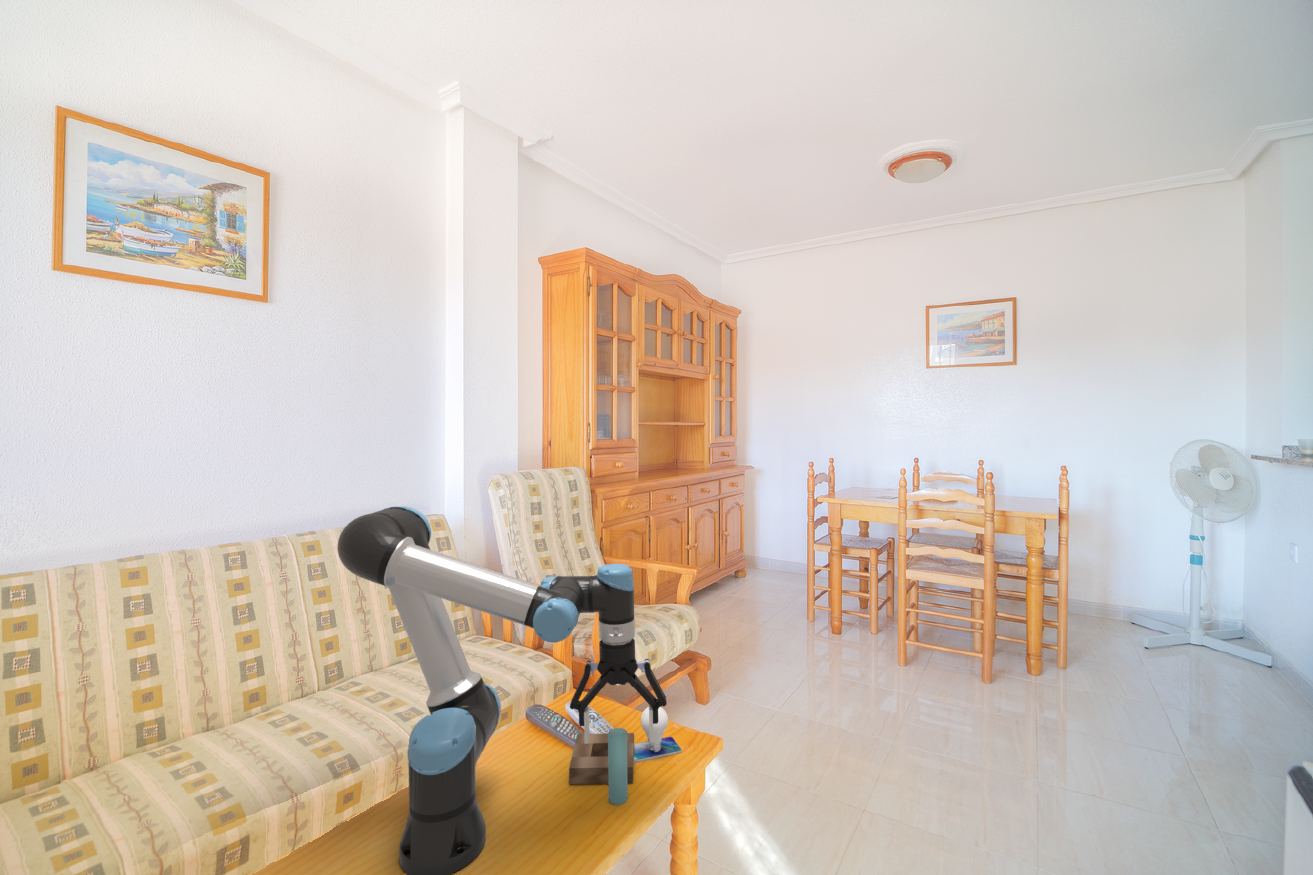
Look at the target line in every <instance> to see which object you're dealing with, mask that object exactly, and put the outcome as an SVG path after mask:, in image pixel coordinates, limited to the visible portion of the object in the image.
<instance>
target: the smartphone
mask: <svg viewBox="0 0 1313 875" xmlns="http://www.w3.org/2000/svg"><path fill="white" fill-rule="evenodd" d="M660 744H661V749H660V751H658V752H656V753H654V752H651V751H650V750H649V742H648V740H646V741H642V742H637V743H634V764H636V763H640V762H644V761H650V760H654V759H659V758H663V757H668V756H673V755H678V754H681V753H682V751H683V749H682V748H681V747H680V745H679V744H678V743H677V742H676V740H675V738H674V737H673V736H666V737H662V740H661V743H660Z"/></svg>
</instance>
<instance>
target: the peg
mask: <svg viewBox="0 0 1313 875" xmlns="http://www.w3.org/2000/svg"><path fill="white" fill-rule="evenodd" d="M607 733H608V784H607V785H608V788H607V789H608V801H609V803H610V804H612V805H615V806H620V805H624V804H625V803H626V802H628V784H627V733H628V731H627V730H626V729H624V728H622V727H614V728H611V729H610V730H609V731H608V732H607Z"/></svg>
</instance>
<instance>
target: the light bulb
mask: <svg viewBox="0 0 1313 875" xmlns="http://www.w3.org/2000/svg"><path fill="white" fill-rule="evenodd" d="M640 725H641V727H642V730H643V731H644V733H645V736H646V737H647V741H648V742H649V750H650V751H651V752H654V753H656V752H658V751H660V749H661V744H660V743H661V740H662V738H663V735H664V733H665V731H666V729H667V727H668V725H669V717H668V714H667V712H666V710H665V709H664V708H663V707H662V706H661V707H659V709H658V724H653V742H650V729H649V706H647V707H646V708H644V710H643V712H642V713H641V717H640Z"/></svg>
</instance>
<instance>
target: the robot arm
mask: <svg viewBox="0 0 1313 875" xmlns="http://www.w3.org/2000/svg"><path fill="white" fill-rule="evenodd" d="M431 538H432V529H431V524H430V522H429V520H428V519H427V517H426V516H425V515H424V514H423V513H422V512H421V511H419V510H417V509H415V508H413V507H410V506H403V505H401V506H399V505H398V506H390V507H386V508H383V509H380V510H378V511H374V512H372V513H367V514H364V515H361V516H358V517H356V518H354V519H353V520H351V521H350V522H349V523H347V525H346V526H344V528H343V529H342V531H341V533H340V535H339V536H338V539H337V540H338V541H337V553H338V557H339V559H340V562H341V564H342V565H343V566H344V567H345V568H346V569H347V570H348V571H349V572H350V573H352V574H354V575H355V576H357V577H359V578H361V579H364V580H367V581H368V582H369V581H370V582H372V583H375V584H378V585H381V586H384V587H387V588H388V589H389V590H388V591H389V592H390V595H391V597H392V599H393V602H394V604H395V607H396V610H397V611H398V612H397V613H398V615H399V618H400V620H401V622H402V624H403V627H404V630H405V633H406V634H407V636H408V639H409V642H410V644H411V647H412V650H413V652H414V653H415V657H416V659H417V661H418V664H419V666H420V669H421V671H422V674H423V677H424V679H425V681H426V684H427V686H428V689H429V695H428V697H427V700H426V707H427V709H428V712H429V714H427V715H425V716H424V717H422V718H421V719H420V720H419V721H418V722H417V723H415V725H414V726H413V728H412V730H411V732H410V735H409V739H408V748H407V760H408V762H407V763H408V798H409V799H408V805H409V808H408V810H409V811H408V812H409V813H408V816H407V820H406V822H405V825H404V830H403V832H402V836H401V837H400V842H399V846H398V849H399V850H398V855H399V856H398V857H399V858H398V859H399V860H398V862H399V865H400V867H401V870H403V871H404V872H405V873H406V874H407V875H452V874H453V873H455V872H457V871H460V870H462V869H464V868H465V867H466V866H468V865H470V863H472V862H473V861H474V860H475V859H476V858H477V857H478V856H479V855H480V853H481V852H482V851H483V848H484V847H485V844H486V840H487V839H486V836H487V835H486V834H487V833H486V832H487V831H486V822H485V819H484V816H483V814H482V810H481V808H480V805H479V803H478V800H477V796H476V787H477V786H476V781H477V780H476V767H477V763H478V761H479V759H480V757H481V755H482V753H483V751H484V749H485V747H486V746H487V744H488V742H489V740H490V739H491V737H492V736H493V734H494V733H495V731H496V728H497V727H498V723H499V720H500V717H501V712H502V711H501V709H502V707H501V705H502V704H501V700H500V697H499V695H498V693H497V691H496V689H494V687H493V686H492V685H490V684H487V683H486V682H485V681H484V680H483V678H482V675H481V674H480V672H475V671H473V670H471V667H470V665H469V663H468V660H467V658H466V655H465V653H464V651H463V648H462V646H461V643H460V641H459V638H458V636H457V633H456V631H455V629H454V626H453V623H452V621H451V618H450V616H449V613H448V611H447V609H446V605H445V604H444V601H443V600H446V601H449V602H452V603H454V604H458V605H461V606H465V607H467V608H471V609H473V610H477V611H479V612H483V613H486V614H488V615H493V616H495V617H498V618H501V619H504V620H507V621H510V622H514V623H516V624H519V625H523V626H525V627H528V628H530V629H533V630H534V633H535V634H536V635H537V636H538V638H540V639H541V640H542V641H544V642H546V643H551V644H552V643H553V644H555V643H560V642H563V641H564V640H565V639H567V638H569V636H570V635H571V634H572V633H573V631H574V629H575V627H577V624H578V623H579V617H580V614H587V613H588V614H589V613H590V614H593V613H598V637H599V642H598V643H599V645H598V646H599V661H598V662H592V660H586V662H585V664H584V665H585V666H584V671H583V672H584V673H583V675H582V677H581V679H580V681H579V683H578V685H577V687H576V689H575V691H574V694H573V696H572V698H571V700H570V705H569V709H570V710H576V711H577V712H578V725H579V727H583V728H584V729H583V731H584V732H583V734H584V736H585V744H588V742H589V737H590V734H591V733H590V706H589V705H590V704H591V703H592V701H593V700H594V699H595V698H596V696H597V695H598V694H599V692H601V690H602V689H604V688H605V686H606V684H609V685H610V686H616V685H621V686H625V685H626V684H629V685H630V686H631V687H632V688H634V689H635V690H636V691H637V693H638V694H639V696H641V697H642V698H643V699H644V701H645V702H646V704H648V707H649V729H650V742H653V724H658V709H659V707H661V708H662V707H666V705H667V703H668V702H667V696H666V694H665V692H664V691H663V689H662V687H661V685H660V683H659V681H658V679H657V678H656V676H655V674H654V671H653V670H652V666H651V660H650V659H649V658H645V659H644V661H643V660H642V661H637V660H636V640H635V639H634V638H635V636H636V634H635V633H636V629H635V626H636V625H635V623H636V622H635V583H634V574H633V569H632V567H631V566H629V565H628V564H625V563H610V564H603V565H601V566H599V567H598V569H597V573H596V574H595V575H571V576H570V575H564V576H563V575H556V576H550V577H549V576H548V577H545V578H543V579H542V581H541V583H540V585H538V584H535V583H532V582H528V581H525V580H523V579H519V578H517V577H514V576H511V575H509V574H505V573H501V572H498V571H496V570H492V569H490V568H486V567H484V566H481V565H478V564H475V563H472V562H468V561H466V560H462V559H459V558H456V557H453V556H450V555H447V554H444V553H441V552H440V551H439V552H438V551H435V550H432V549H431V547H430V545H429V544H430V541H431ZM638 669H639V670H640V671H641V672H642V673H643V674H644V673H645V677H646V679H647V681H648V683H649V685H650V686H651V688H652V690H653V693H654V694H655V695H653V693H652V692H651V691H650V689H648V687H647V686H646V685H645V684H644V683H643V682H642V681H641V679H639V678H638V675H637V674H636V672H637V671H638ZM595 671H598V673H599V674H600V676H599V678H598V680H597V681H596V682H594V684H593V686H592V687H591V688H590V689H589V691H588V692H587V693H586V695H585V696H583V698H582V699H580V698H581V697H582V694H583V693H584V690H585V688H586V687H587V684H588V681H589V679H590V676H591V675H593V674H594V673H595Z"/></svg>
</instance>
